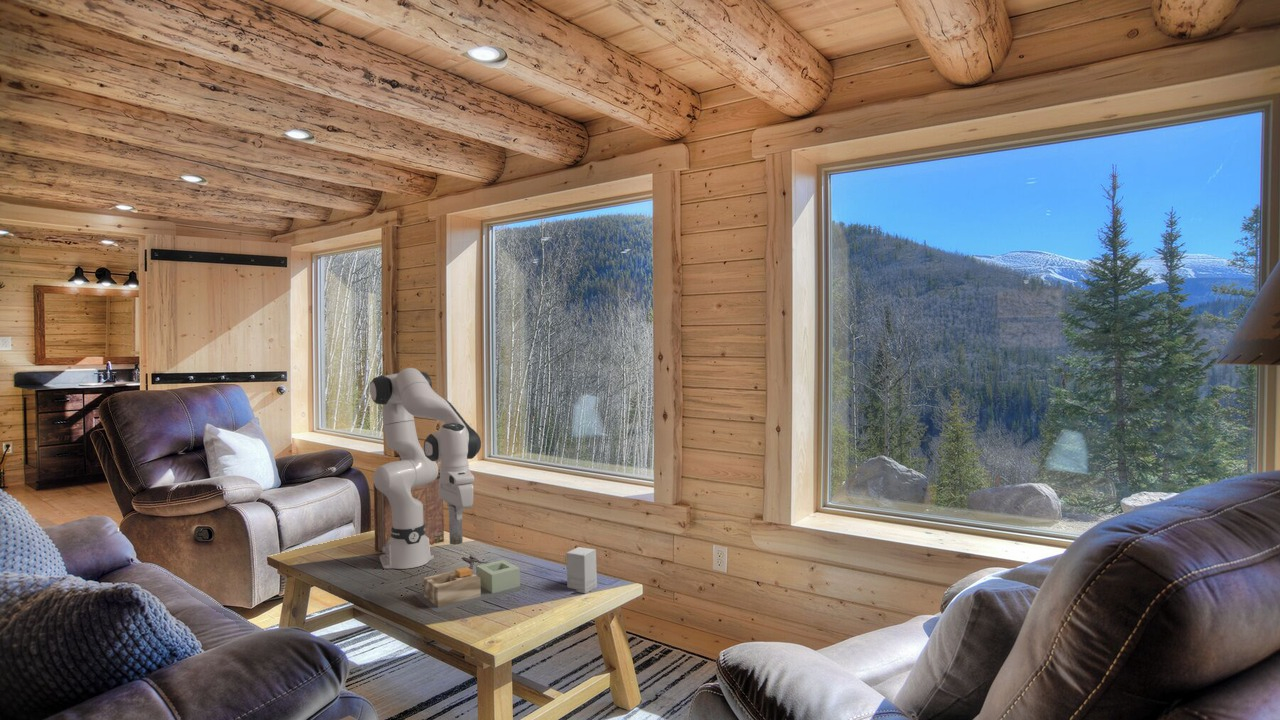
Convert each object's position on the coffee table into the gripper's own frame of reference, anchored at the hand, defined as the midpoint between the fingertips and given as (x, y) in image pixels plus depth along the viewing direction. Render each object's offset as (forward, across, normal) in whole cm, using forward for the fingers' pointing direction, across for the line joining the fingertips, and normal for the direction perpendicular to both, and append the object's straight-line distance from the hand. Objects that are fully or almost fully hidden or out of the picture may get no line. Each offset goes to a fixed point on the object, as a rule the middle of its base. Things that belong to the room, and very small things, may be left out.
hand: (455, 517), depth 217 cm
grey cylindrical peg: (+8, 0, 0) cm, 8 cm away
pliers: (+27, -28, +18) cm, 43 cm away
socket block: (+25, 0, -2) cm, 25 cm away
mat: (+26, 0, +5) cm, 26 cm away
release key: (+23, 0, +2) cm, 23 cm away
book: (+26, -68, +7) cm, 73 cm away
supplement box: (+26, +19, +36) cm, 48 cm away
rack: (+25, 0, +14) cm, 29 cm away
